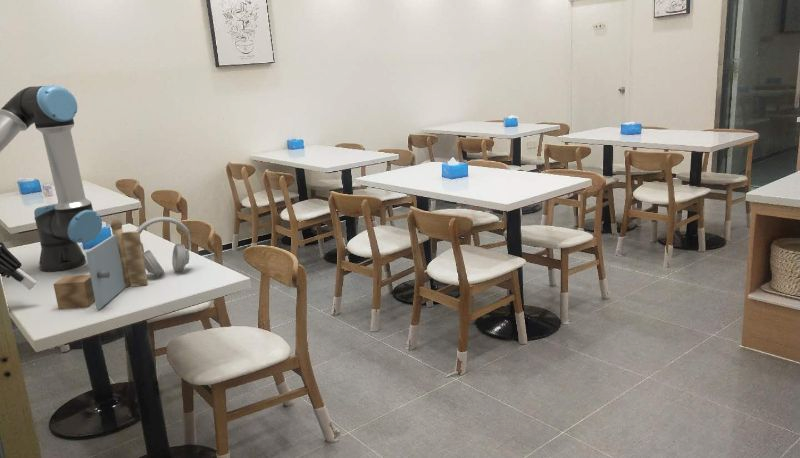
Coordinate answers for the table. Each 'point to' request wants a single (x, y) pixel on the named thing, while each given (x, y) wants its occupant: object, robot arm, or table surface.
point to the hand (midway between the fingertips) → (33, 285)
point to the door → (105, 270)
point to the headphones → (179, 251)
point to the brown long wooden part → (130, 255)
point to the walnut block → (74, 292)
